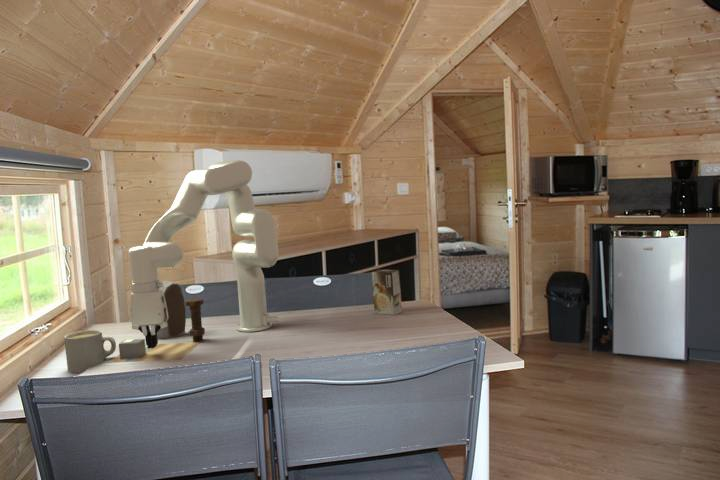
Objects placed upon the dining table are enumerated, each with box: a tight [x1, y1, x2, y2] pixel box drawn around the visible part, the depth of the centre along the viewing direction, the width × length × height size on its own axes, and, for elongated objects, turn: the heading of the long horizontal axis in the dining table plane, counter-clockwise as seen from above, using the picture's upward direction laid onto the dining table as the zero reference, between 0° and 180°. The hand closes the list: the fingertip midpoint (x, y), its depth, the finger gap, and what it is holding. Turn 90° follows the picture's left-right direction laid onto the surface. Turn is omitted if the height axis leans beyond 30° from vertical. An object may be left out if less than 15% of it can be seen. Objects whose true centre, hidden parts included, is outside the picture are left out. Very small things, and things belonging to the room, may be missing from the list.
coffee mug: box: [63, 329, 117, 374], centre depth 173 cm, size 13×10×10 cm
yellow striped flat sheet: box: [107, 341, 202, 363], centre depth 179 cm, size 22×18×2 cm
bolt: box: [185, 297, 206, 343], centre depth 189 cm, size 6×5×15 cm
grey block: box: [118, 338, 146, 359], centre depth 176 cm, size 6×4×5 cm
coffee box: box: [371, 268, 403, 316], centre depth 220 cm, size 9×6×16 cm
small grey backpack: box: [157, 280, 187, 340], centre depth 201 cm, size 15×8×20 cm, turn 163°
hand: (152, 347), depth 177 cm, fingers closed
